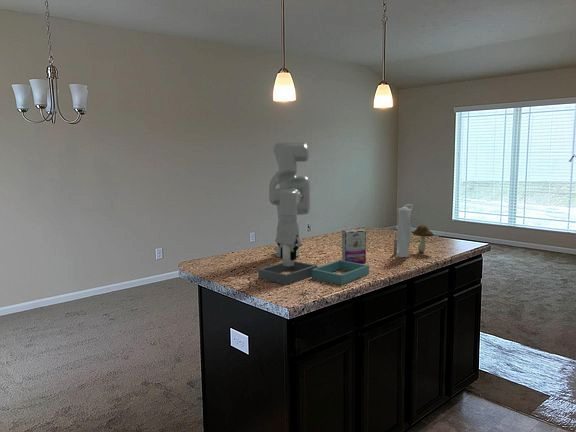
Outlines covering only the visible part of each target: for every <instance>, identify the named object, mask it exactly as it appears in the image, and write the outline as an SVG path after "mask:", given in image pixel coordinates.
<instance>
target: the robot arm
mask: <svg viewBox="0 0 576 432" xmlns="http://www.w3.org/2000/svg"><path fill="white" fill-rule="evenodd" d="M273 153H274V157H275V160H276V162H277V165H278V171H276V172H275V173H274V175H273V176H272V177H271V179H270V181H269V186H268V187H269V188H268V199H269V203H270V204H271V205H273V206H276V210H277V219H278V221H277V227H276V238H275V240H274V241H275V243H276V244H277V245H275V247H273V250H274V251H276V252H275V256H276V257H277V258H280V259H283V252H282V244H285V245H290V246H291V250H292V252H291V260H294V261H297V258H298V257H300V252H298V250H299V248H301V247H302V246H303V243H302V242H301V240H300V228H299V222H298V221H297V220H298V219H297V218H298V215H299V216H301V215H308V214H309V213H310V210H311V186H310V184H311V183H310V180H309V179H310V178H309V177H307V176H306V175H296V174H297V170H298V169H297V168H298V167H297V166H298V165H297V164H298V163H297V162H300V163H301V162H304V163H305V162H307V161H308V160H309V157H310V150H309V146H308V144H307V142H305V141H281V142H276V143H275V144H274V145H273ZM278 184H279V185H278ZM277 185H278V187H279V188H276V187H277Z"/></svg>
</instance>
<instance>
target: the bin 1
mask: <svg viewBox="0 0 576 432" xmlns="http://www.w3.org/2000/svg"><path fill="white" fill-rule="evenodd" d="M317 267H318V265H317V264H311V263H306V262H301V261H297V260H294V266H283V261H282V262H279V263H276V264H273V265H268V266H265V267H262V268H258V277H257V278H258V279H260V278H261V279H260V280H264V279H265V280H264V281H269V282H273V283H276V284H281V285H285V286H287V284H288V285H291V284H293V283H296V282H299V281H301V280H304V279H307V278H312V269H314V268H317ZM286 270H287V271H289V270H291V271H292V270H293V272H290V273H286V274H284V273H283V271H284V272H286Z"/></svg>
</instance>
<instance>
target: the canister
mask: <svg viewBox="0 0 576 432" xmlns="http://www.w3.org/2000/svg"><path fill="white" fill-rule="evenodd" d="M282 252H283V258H282V262H283V266H294V261H295V260H291V252H292V250H291V246H290V245H285V244H282Z"/></svg>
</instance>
